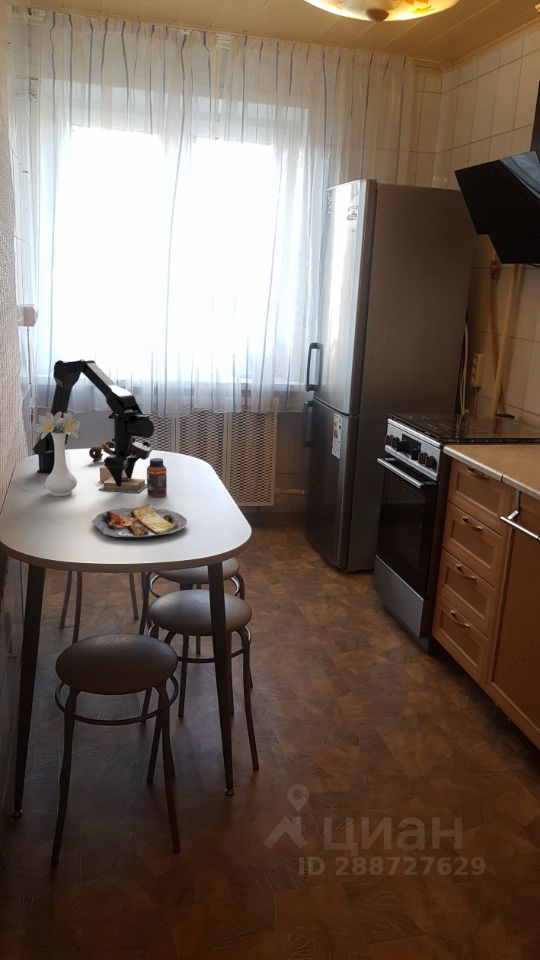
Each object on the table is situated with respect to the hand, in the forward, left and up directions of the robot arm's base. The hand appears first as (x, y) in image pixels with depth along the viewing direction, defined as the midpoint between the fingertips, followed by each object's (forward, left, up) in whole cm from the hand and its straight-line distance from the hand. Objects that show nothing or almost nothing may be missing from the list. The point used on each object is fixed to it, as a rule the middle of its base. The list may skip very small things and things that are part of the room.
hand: (124, 482), depth 241 cm
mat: (0, 0, -2) cm, 2 cm away
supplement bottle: (+13, -6, -2) cm, 14 cm away
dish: (-7, +11, -2) cm, 13 cm away
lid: (0, 0, -1) cm, 1 cm away
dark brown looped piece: (-19, +32, -2) cm, 37 cm away
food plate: (+18, -37, -2) cm, 41 cm away
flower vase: (-16, -11, -2) cm, 20 cm away
